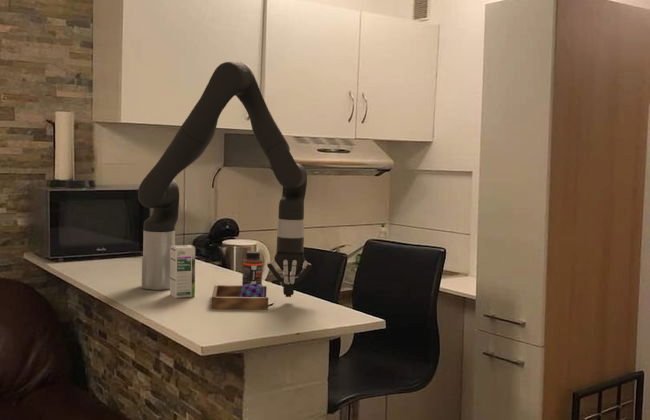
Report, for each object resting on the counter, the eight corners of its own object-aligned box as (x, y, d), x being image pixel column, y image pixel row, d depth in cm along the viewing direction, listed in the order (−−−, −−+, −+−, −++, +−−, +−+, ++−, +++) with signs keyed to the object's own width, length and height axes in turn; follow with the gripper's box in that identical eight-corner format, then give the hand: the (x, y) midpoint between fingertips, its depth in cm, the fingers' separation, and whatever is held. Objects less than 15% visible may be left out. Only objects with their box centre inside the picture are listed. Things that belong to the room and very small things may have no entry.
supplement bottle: (258, 291, 219) (259, 253, 218) (239, 289, 220) (240, 252, 219) (264, 287, 225) (265, 251, 224) (245, 286, 226) (246, 250, 225)
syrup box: (175, 298, 204) (176, 247, 203) (169, 294, 209) (170, 244, 208) (194, 297, 207) (195, 246, 206) (188, 293, 212) (189, 243, 211)
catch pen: (211, 308, 193) (211, 297, 193) (214, 295, 210) (214, 285, 210) (268, 309, 195) (268, 298, 195) (266, 295, 212) (266, 285, 212)
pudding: (277, 308, 198) (277, 289, 197) (233, 309, 195) (233, 289, 195) (270, 299, 210) (270, 281, 209) (228, 299, 207) (228, 281, 206)
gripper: (267, 236, 198) (265, 299, 200) (315, 237, 200) (313, 299, 201) (266, 232, 205) (264, 293, 207) (312, 234, 207) (310, 294, 208)
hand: (288, 296), depth 204 cm, fingers closed
